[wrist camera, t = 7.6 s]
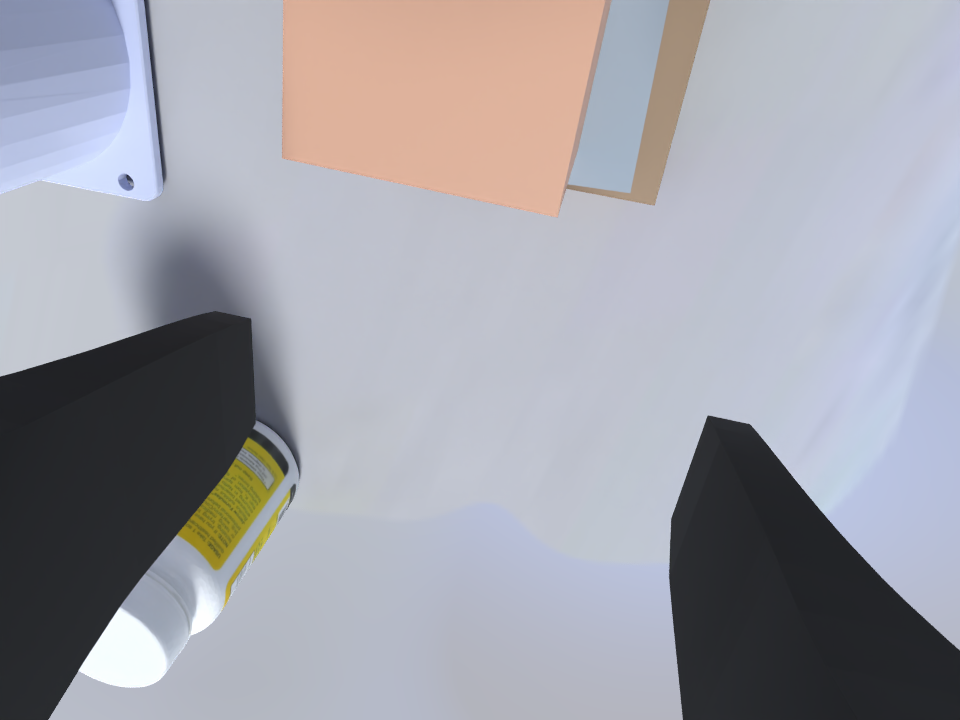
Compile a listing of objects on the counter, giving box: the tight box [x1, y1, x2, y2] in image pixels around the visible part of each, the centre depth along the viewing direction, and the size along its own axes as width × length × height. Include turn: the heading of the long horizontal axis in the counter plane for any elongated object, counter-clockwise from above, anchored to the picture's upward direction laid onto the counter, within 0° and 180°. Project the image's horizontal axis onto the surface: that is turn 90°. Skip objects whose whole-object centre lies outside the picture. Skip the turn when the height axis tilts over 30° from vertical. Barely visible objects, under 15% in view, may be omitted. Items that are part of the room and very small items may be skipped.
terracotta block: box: [282, 0, 612, 217], centre depth 12 cm, size 4×4×4 cm
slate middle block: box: [568, 0, 669, 193], centre depth 15 cm, size 6×6×2 cm
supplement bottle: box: [79, 420, 299, 687], centre depth 23 cm, size 5×5×8 cm
